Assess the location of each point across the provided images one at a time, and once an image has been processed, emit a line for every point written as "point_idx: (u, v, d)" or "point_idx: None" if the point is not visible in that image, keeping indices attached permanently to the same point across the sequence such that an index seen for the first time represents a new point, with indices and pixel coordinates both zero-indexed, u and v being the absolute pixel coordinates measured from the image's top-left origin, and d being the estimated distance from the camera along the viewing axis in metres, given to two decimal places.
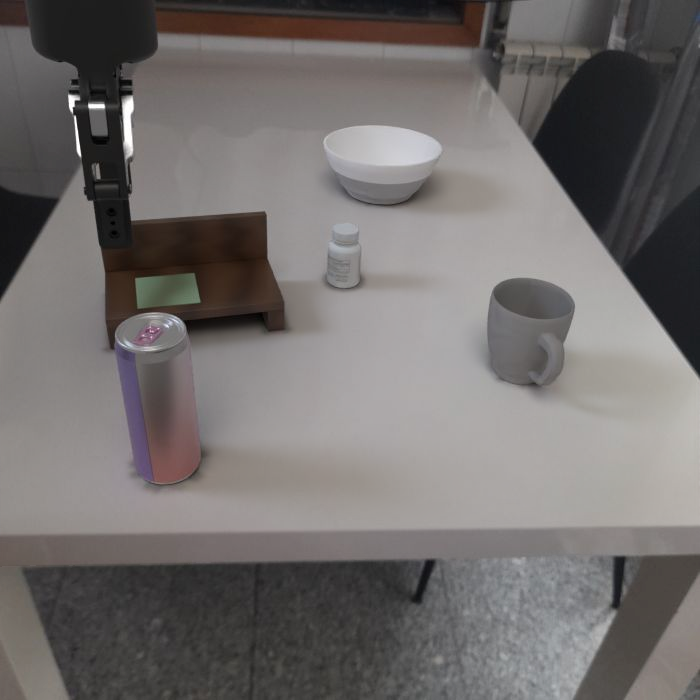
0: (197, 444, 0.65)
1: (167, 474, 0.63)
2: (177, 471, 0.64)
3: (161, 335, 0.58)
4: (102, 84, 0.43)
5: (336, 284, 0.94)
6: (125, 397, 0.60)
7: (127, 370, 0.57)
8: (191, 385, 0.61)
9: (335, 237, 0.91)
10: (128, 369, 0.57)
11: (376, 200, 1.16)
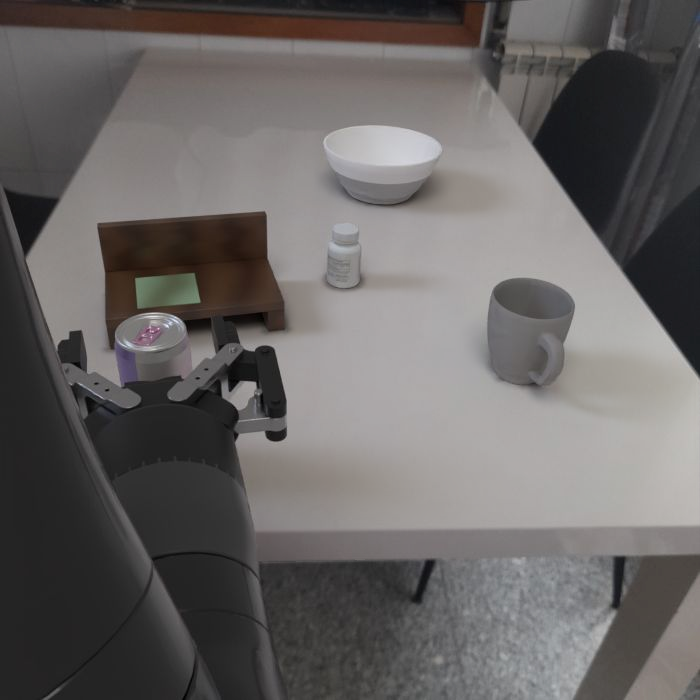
0: None
1: None
2: None
3: (161, 335, 0.58)
4: None
5: (336, 284, 0.94)
6: None
7: (127, 370, 0.57)
8: None
9: (335, 237, 0.91)
10: (128, 369, 0.57)
11: (376, 200, 1.16)
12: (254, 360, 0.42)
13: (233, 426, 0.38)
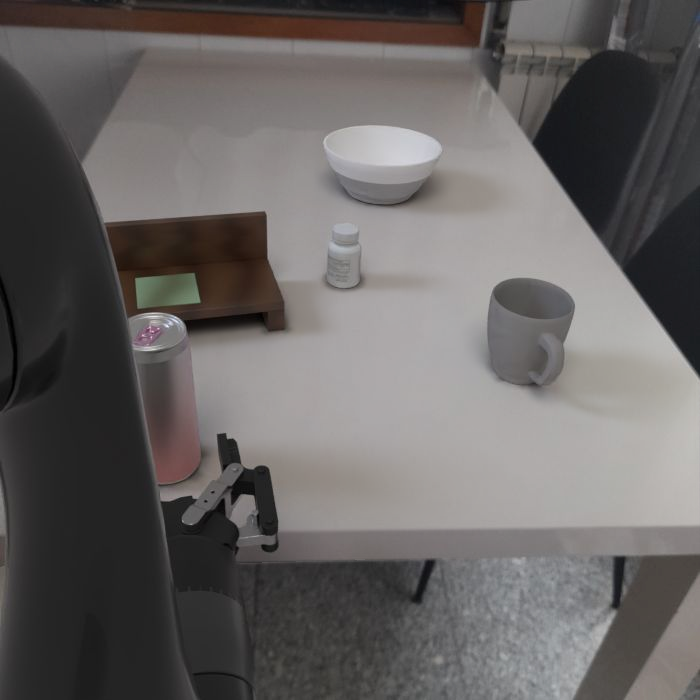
0: (197, 444, 0.65)
1: (167, 474, 0.63)
2: (177, 471, 0.64)
3: (161, 335, 0.58)
4: None
5: (336, 284, 0.94)
6: None
7: None
8: (191, 385, 0.61)
9: (335, 237, 0.91)
10: None
11: (376, 200, 1.16)
12: (252, 479, 0.51)
13: (234, 544, 0.47)
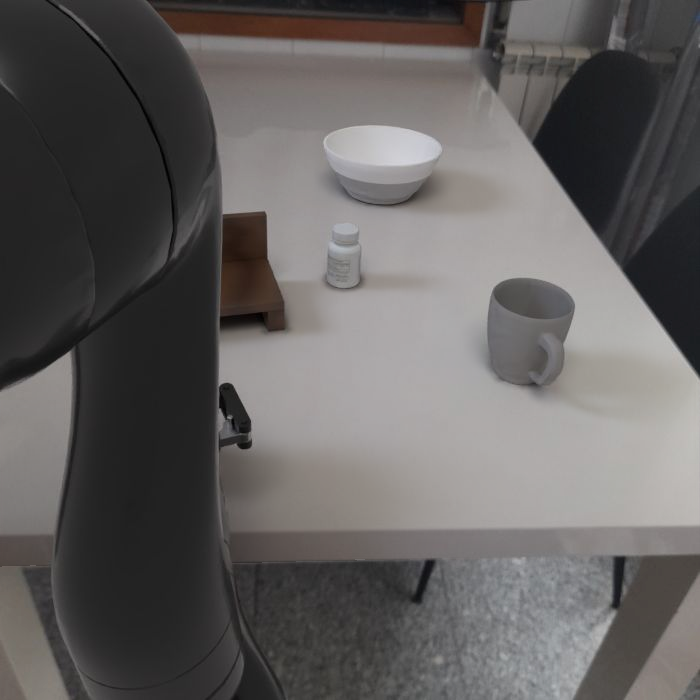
0: None
1: None
2: None
3: None
4: None
5: (336, 284, 0.94)
6: None
7: None
8: None
9: (335, 237, 0.91)
10: None
11: (376, 200, 1.16)
12: (219, 393, 0.60)
13: None
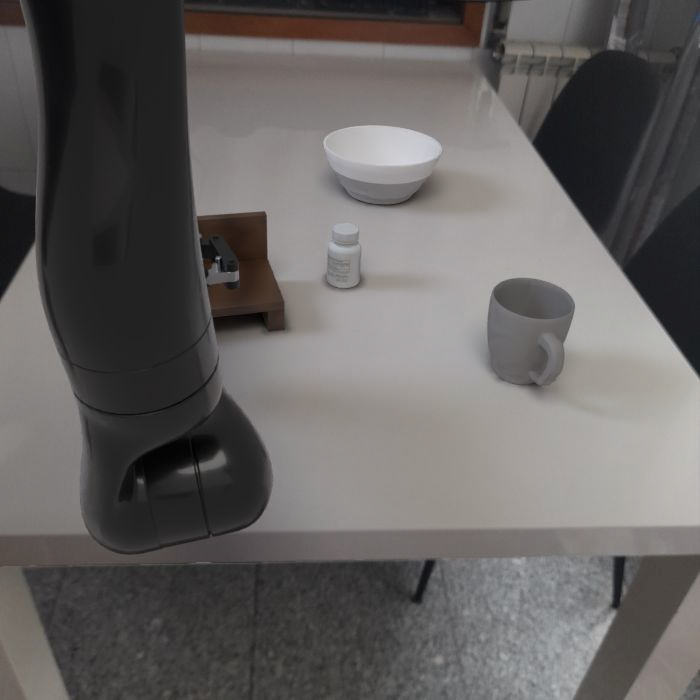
0: None
1: None
2: None
3: None
4: None
5: (336, 284, 0.94)
6: None
7: None
8: None
9: (335, 237, 0.91)
10: None
11: (376, 200, 1.16)
12: (208, 243, 0.63)
13: (204, 278, 0.58)
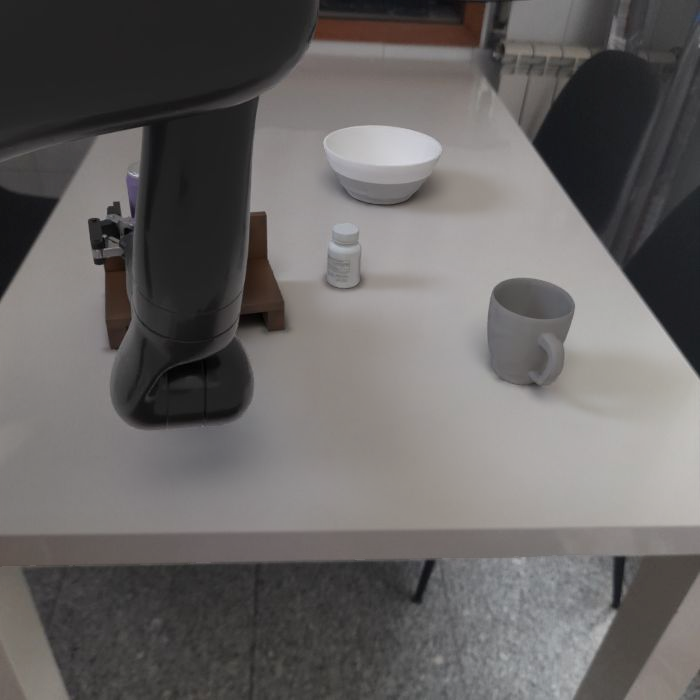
0: None
1: None
2: None
3: None
4: (125, 255, 0.71)
5: (336, 284, 0.94)
6: None
7: (135, 196, 0.75)
8: None
9: (335, 237, 0.91)
10: (136, 195, 0.75)
11: (376, 200, 1.16)
12: None
13: None
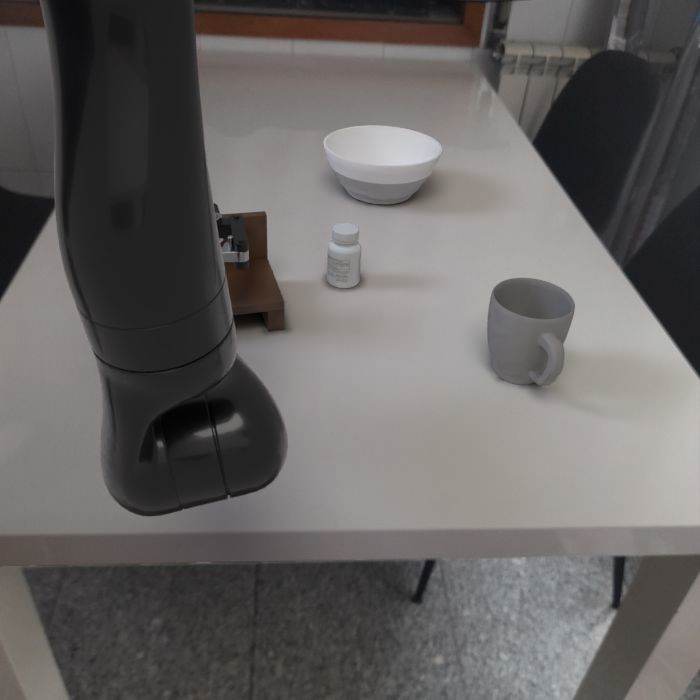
0: None
1: None
2: None
3: None
4: None
5: (336, 284, 0.94)
6: None
7: None
8: None
9: (335, 237, 0.91)
10: None
11: (376, 200, 1.16)
12: (229, 223, 0.64)
13: None
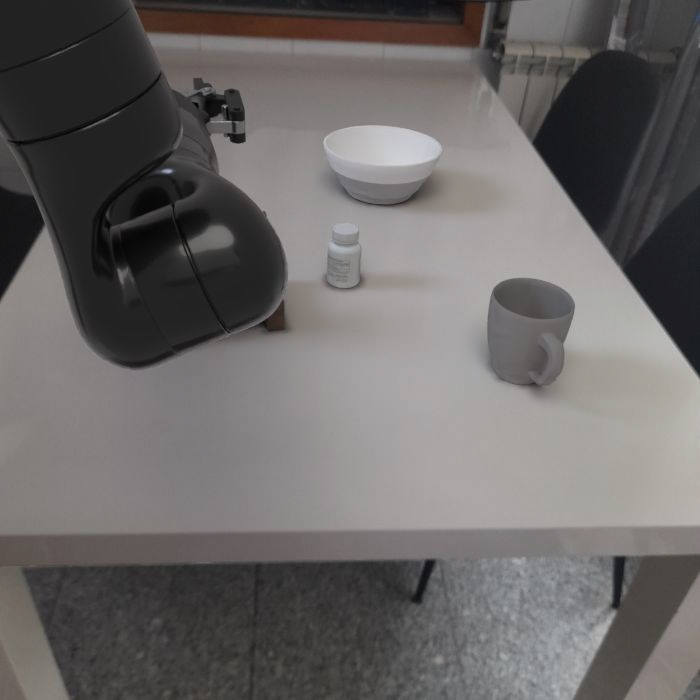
0: None
1: None
2: None
3: None
4: None
5: (336, 284, 0.94)
6: None
7: None
8: None
9: (335, 237, 0.91)
10: None
11: (376, 200, 1.16)
12: (223, 98, 0.58)
13: (205, 122, 0.53)
